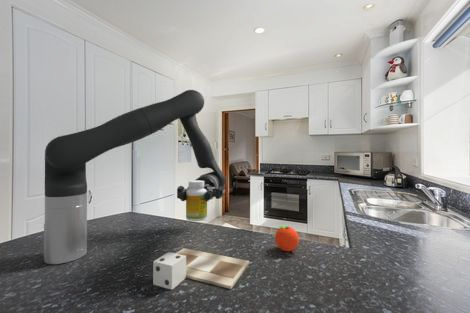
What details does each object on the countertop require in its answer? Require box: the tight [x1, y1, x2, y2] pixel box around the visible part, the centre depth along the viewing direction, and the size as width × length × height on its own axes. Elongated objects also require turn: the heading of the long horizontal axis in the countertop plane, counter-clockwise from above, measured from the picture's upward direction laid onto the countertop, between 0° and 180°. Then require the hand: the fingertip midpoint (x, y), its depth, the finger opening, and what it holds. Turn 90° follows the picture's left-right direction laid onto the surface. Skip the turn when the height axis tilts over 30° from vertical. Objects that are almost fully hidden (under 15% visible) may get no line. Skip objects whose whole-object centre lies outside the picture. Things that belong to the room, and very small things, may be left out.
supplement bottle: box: [185, 179, 208, 222], centre depth 57 cm, size 5×5×10 cm
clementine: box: [272, 225, 300, 252], centre depth 65 cm, size 8×7×7 cm
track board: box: [174, 247, 250, 290], centre depth 55 cm, size 20×12×1 cm, turn 68°
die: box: [152, 251, 186, 290], centre depth 49 cm, size 5×5×5 cm
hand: (194, 197), depth 54 cm, fingers closed on supplement bottle, 5 cm apart
